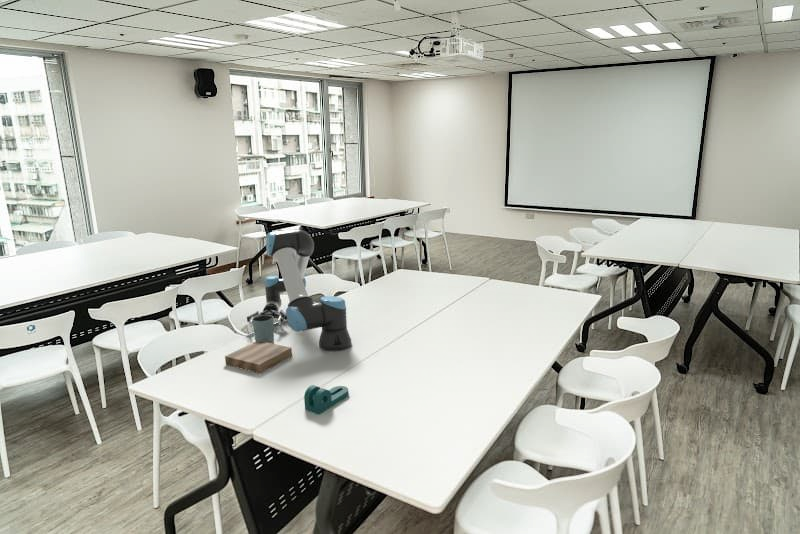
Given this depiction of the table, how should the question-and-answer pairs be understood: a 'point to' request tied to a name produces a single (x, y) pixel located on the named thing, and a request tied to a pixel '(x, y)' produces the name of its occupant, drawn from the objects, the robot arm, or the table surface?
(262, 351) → the walnut riser
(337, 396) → the bracket
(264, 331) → the blue green cup
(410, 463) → the table surface
